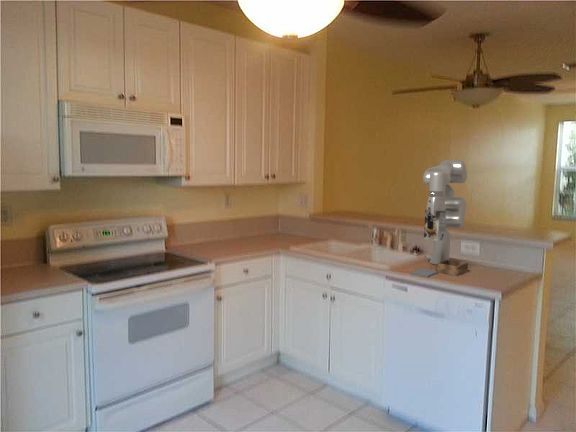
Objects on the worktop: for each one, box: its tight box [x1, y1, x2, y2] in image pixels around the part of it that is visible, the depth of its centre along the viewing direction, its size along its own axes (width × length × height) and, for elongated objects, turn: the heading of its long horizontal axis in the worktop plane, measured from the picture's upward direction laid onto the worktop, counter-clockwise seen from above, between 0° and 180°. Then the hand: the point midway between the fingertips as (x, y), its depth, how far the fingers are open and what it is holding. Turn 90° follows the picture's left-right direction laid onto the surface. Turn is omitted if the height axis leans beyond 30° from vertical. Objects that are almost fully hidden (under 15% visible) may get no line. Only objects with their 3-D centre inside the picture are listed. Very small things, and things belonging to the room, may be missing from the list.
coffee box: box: [423, 209, 446, 242], centre depth 239 cm, size 9×6×16 cm
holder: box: [435, 259, 469, 277], centre depth 246 cm, size 12×14×5 cm
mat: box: [410, 268, 438, 278], centre depth 241 cm, size 10×12×1 cm
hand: (434, 227), depth 239 cm, fingers closed on coffee box, 6 cm apart
